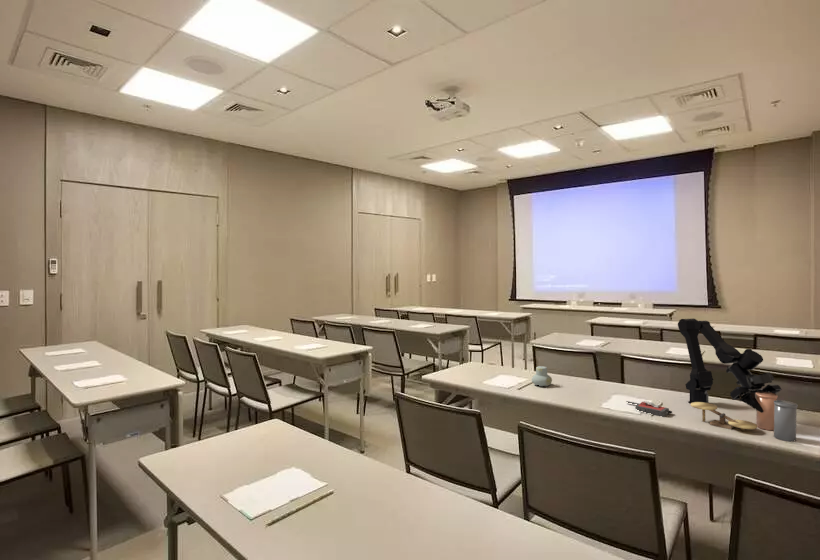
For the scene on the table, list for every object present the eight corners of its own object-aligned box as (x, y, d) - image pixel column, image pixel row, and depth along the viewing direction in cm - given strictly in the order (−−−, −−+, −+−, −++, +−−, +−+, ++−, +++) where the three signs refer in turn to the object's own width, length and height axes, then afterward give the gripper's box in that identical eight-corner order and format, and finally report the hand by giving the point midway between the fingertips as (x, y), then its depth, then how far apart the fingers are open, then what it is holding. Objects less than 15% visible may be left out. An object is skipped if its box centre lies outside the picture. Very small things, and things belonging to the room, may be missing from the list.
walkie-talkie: (674, 414, 192) (627, 404, 208) (674, 404, 192) (627, 394, 207) (666, 418, 187) (618, 408, 202) (666, 408, 186) (618, 398, 202)
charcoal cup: (771, 437, 162) (771, 402, 162) (775, 433, 167) (776, 399, 166) (794, 443, 157) (795, 407, 157) (798, 438, 162) (799, 403, 161)
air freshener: (543, 388, 237) (543, 370, 237) (529, 386, 243) (529, 367, 243) (553, 384, 244) (553, 366, 244) (540, 382, 250) (539, 364, 250)
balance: (687, 421, 182) (687, 405, 182) (695, 416, 187) (695, 400, 187) (753, 436, 165) (753, 418, 165) (760, 430, 170) (760, 412, 170)
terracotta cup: (753, 427, 173) (753, 394, 173) (758, 423, 177) (758, 390, 177) (775, 431, 168) (775, 397, 167) (779, 427, 172) (779, 394, 172)
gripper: (736, 366, 174) (762, 402, 164) (777, 364, 177) (805, 399, 167) (719, 381, 182) (743, 417, 172) (758, 379, 185) (785, 413, 175)
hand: (769, 411), depth 171 cm, fingers closed on terracotta cup, 6 cm apart
